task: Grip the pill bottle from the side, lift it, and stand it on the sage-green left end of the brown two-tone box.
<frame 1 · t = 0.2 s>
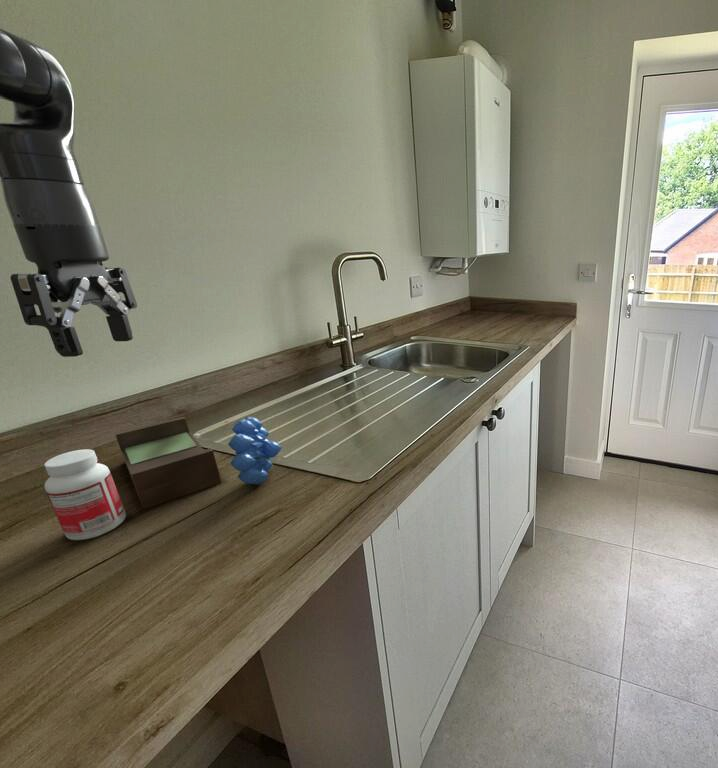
hand: (99, 347, 57), 24 cm above the table, tool pointing down, fingers open, 8 cm apart
pill bottle: (98, 528, 57), on the table
brown two-tone box: (171, 472, 71), on the table
grapes: (266, 483, 68), on the table
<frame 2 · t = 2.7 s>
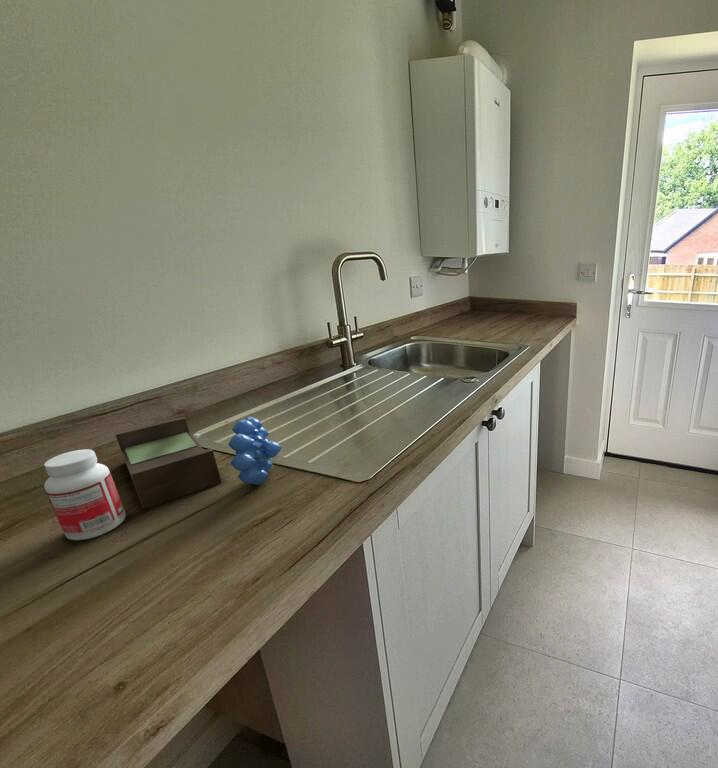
nothing on the table moved.
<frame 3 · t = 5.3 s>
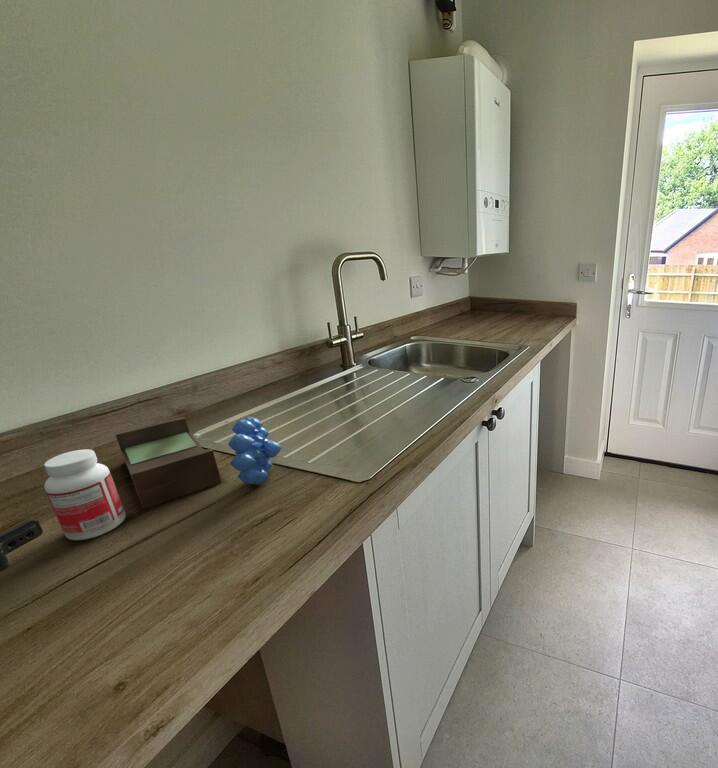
hand: (7, 522, 48), 7 cm above the table, tool horizontal, fingers open, 8 cm apart
nothing on the table moved.
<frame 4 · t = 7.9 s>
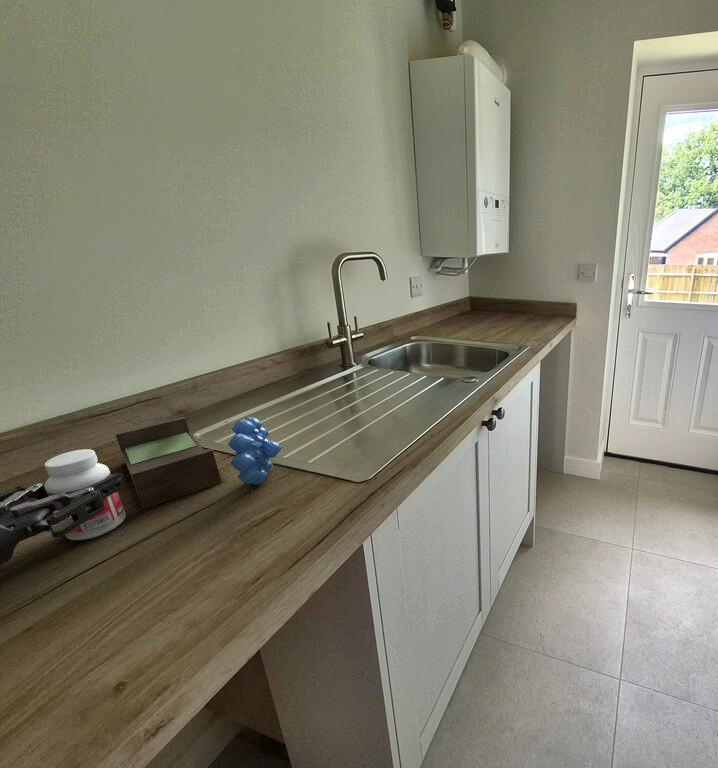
hand: (100, 477, 57), 7 cm above the table, tool horizontal, fingers closed on pill bottle, 6 cm apart
pill bottle: (98, 528, 57), on the table, touching gripper
everything else where it was.
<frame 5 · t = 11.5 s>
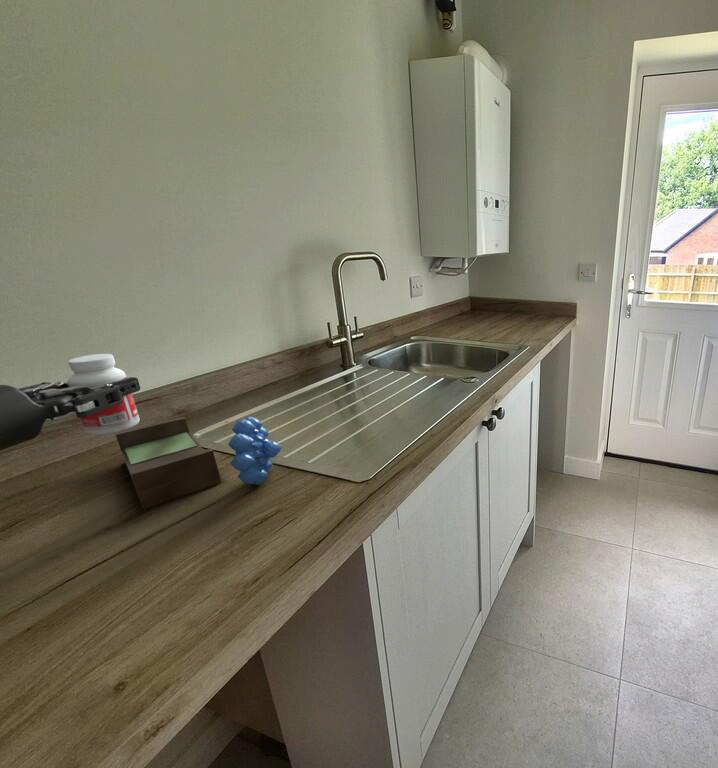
hand: (117, 382, 63), 18 cm above the table, tool horizontal, fingers closed on pill bottle, 6 cm apart
pill bottle: (114, 428, 63), point 11 cm above the table, touching gripper
everything else where it was.
when the fingers open (10 cm above the table, at t = 15.5 s): pill bottle stays where it is, resting on brown two-tone box.
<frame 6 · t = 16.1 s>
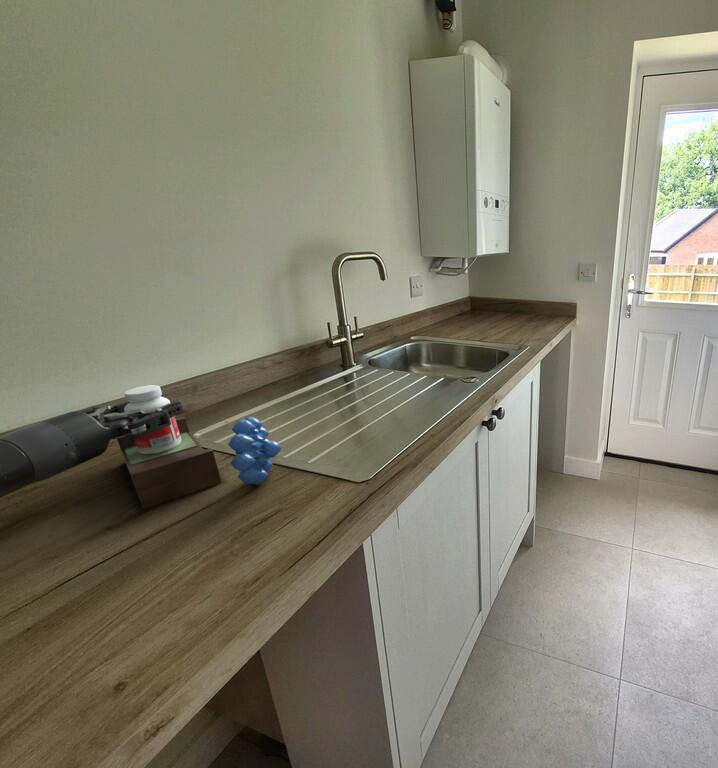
hand: (158, 405, 73), 11 cm above the table, tool horizontal, fingers open, 8 cm apart
pill bottle: (161, 448, 73), point 3 cm above the table, touching brown two-tone box
everything else where it was.
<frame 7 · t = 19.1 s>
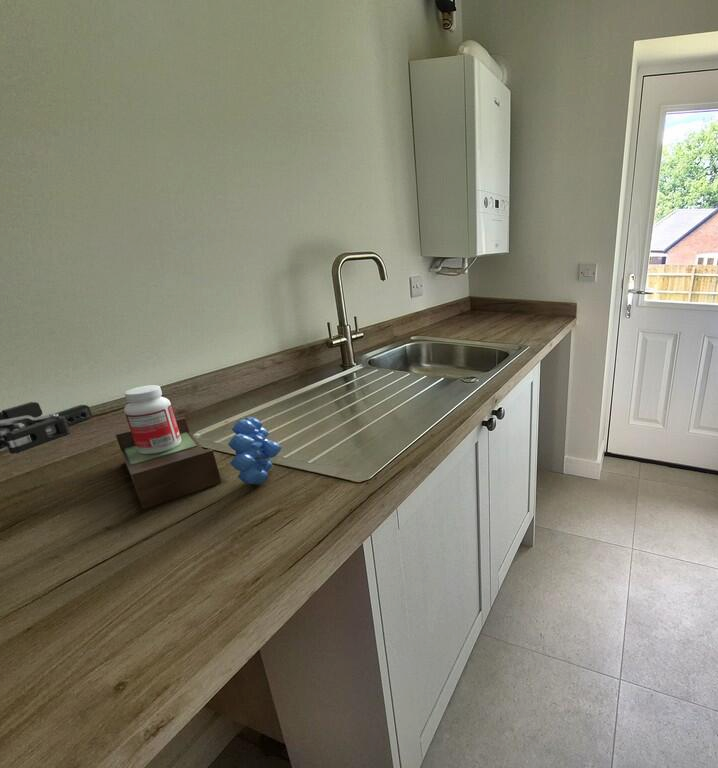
hand: (63, 409, 60), 15 cm above the table, tool horizontal, fingers open, 8 cm apart
nothing on the table moved.
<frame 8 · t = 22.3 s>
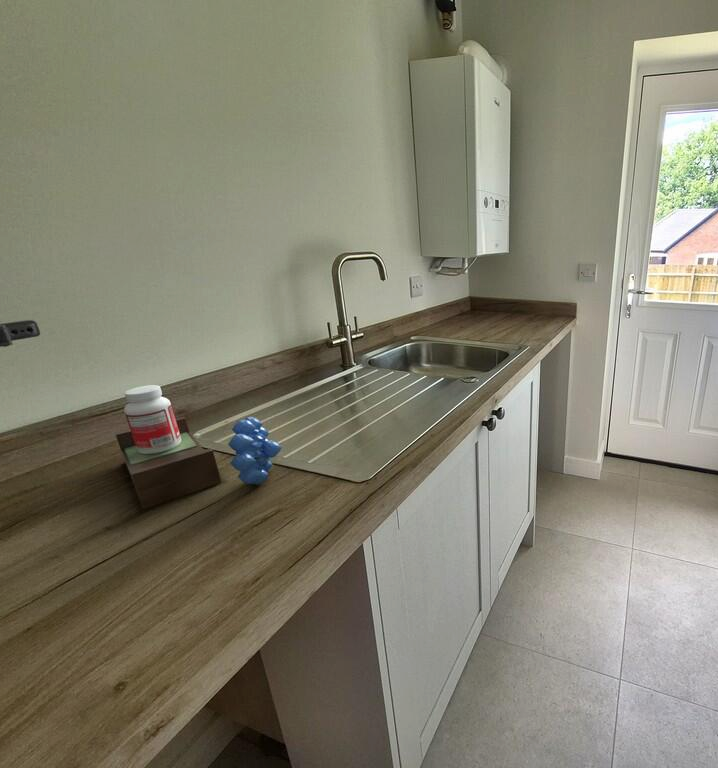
hand: (10, 327, 56), 27 cm above the table, tool horizontal, fingers open, 8 cm apart
nothing on the table moved.
at the end: pill bottle inside the target area on the brown two-tone box (0.5 cm from its centre), point 3.0 cm above the brown two-tone box's base; pill bottle tilted 0°; the gripper is holding nothing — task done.
